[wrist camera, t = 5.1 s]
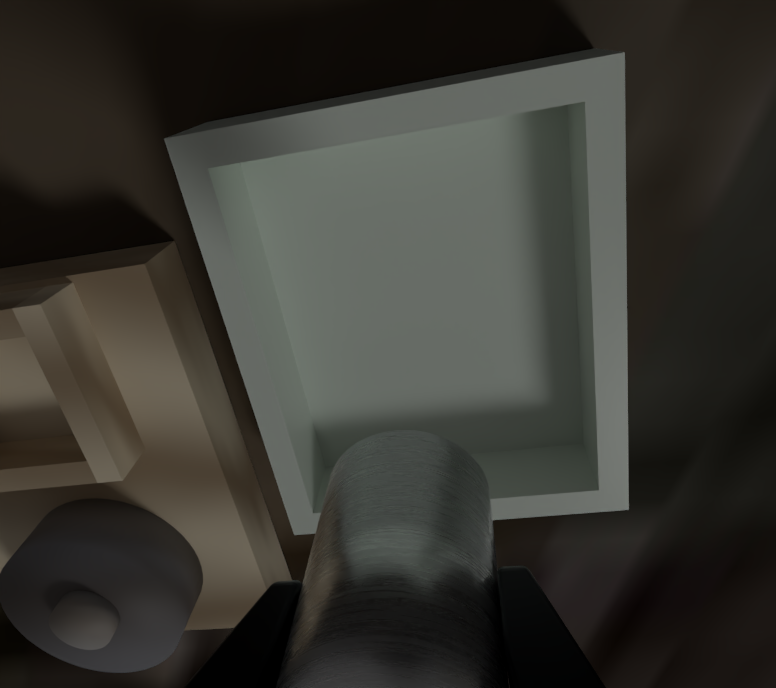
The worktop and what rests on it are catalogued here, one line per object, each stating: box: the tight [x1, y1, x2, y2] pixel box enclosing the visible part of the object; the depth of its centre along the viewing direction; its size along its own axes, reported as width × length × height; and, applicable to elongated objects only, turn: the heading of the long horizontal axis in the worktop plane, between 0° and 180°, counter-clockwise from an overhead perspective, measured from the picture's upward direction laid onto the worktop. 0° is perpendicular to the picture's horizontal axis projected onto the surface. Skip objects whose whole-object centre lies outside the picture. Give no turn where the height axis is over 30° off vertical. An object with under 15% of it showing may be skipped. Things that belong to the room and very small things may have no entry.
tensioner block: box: [0, 241, 292, 673], centre depth 20 cm, size 14×10×5 cm
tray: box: [164, 48, 629, 535], centre depth 17 cm, size 12×10×3 cm
